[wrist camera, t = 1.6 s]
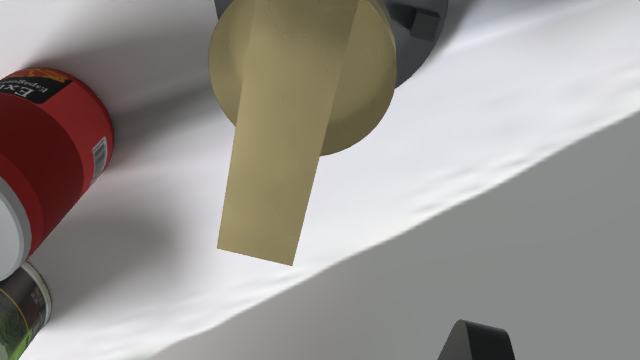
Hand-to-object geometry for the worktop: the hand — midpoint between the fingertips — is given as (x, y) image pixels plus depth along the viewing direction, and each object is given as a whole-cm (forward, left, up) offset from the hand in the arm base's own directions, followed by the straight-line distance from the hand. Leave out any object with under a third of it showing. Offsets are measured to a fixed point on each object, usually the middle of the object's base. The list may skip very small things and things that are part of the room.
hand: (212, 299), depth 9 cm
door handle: (+1, 0, -14) cm, 14 cm away
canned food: (+12, -15, -24) cm, 31 cm away
